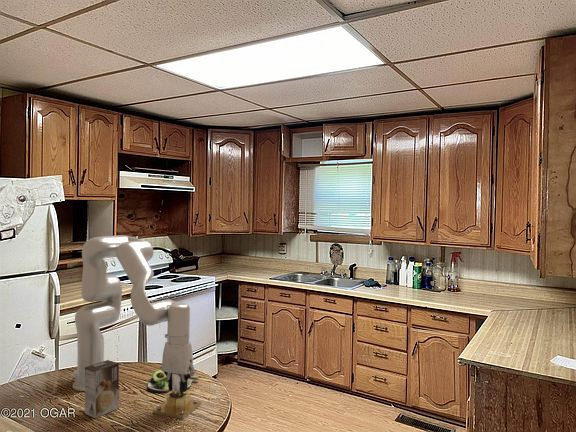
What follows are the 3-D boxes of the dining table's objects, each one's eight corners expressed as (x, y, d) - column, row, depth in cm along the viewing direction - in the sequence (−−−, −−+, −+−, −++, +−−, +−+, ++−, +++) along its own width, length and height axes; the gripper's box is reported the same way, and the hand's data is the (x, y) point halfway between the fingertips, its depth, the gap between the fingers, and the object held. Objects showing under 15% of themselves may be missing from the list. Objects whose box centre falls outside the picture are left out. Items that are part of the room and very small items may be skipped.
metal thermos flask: (169, 402, 151) (169, 368, 151) (175, 397, 155) (176, 364, 155) (179, 404, 150) (179, 369, 150) (185, 399, 154) (186, 365, 154)
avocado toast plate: (200, 375, 184) (200, 364, 184) (196, 393, 166) (197, 381, 166) (153, 376, 182) (153, 365, 182) (144, 394, 164) (144, 382, 164)
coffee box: (107, 403, 155) (108, 359, 155) (119, 408, 152) (119, 362, 152) (83, 413, 147) (84, 366, 147) (95, 419, 144) (95, 370, 144)
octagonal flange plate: (152, 413, 149) (152, 398, 149) (172, 398, 160) (172, 385, 160) (182, 419, 145) (183, 404, 145) (201, 404, 156) (201, 390, 156)
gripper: (151, 339, 151) (150, 391, 152) (193, 344, 146) (192, 399, 146) (164, 333, 158) (163, 383, 159) (205, 338, 153) (204, 390, 153)
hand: (177, 390), depth 153 cm, fingers closed on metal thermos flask, 4 cm apart
